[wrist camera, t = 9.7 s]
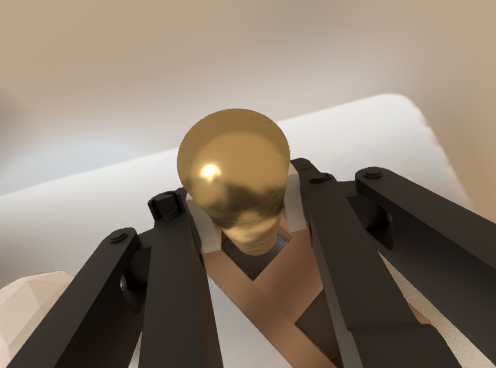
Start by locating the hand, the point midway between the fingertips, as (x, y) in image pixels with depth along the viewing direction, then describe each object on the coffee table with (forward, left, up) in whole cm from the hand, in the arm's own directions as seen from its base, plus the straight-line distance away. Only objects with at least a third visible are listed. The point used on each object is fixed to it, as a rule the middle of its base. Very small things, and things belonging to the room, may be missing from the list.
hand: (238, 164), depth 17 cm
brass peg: (+3, -2, -3) cm, 5 cm away
